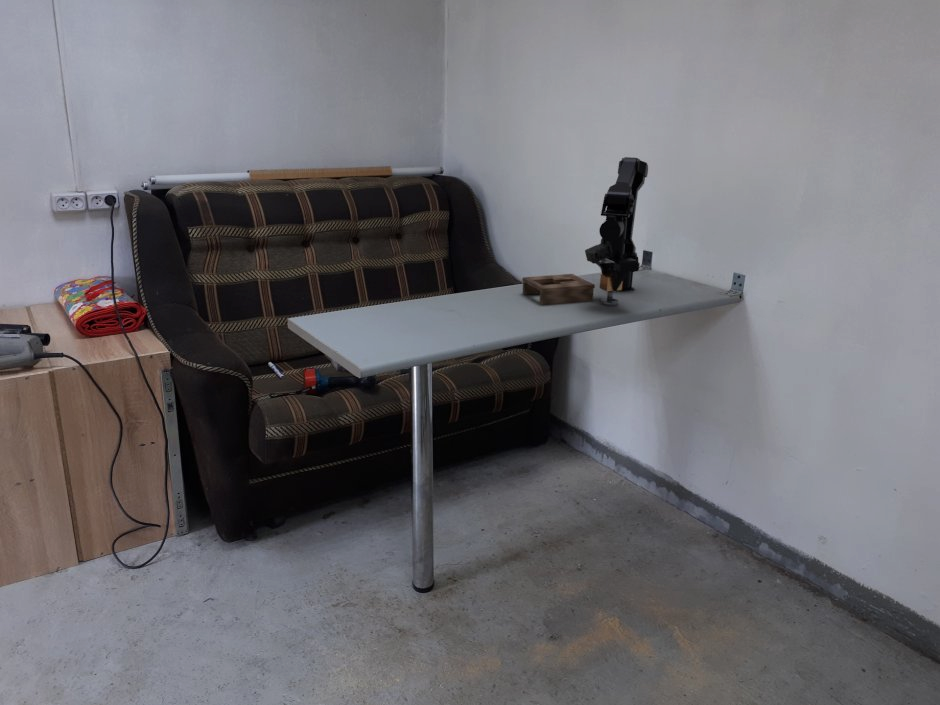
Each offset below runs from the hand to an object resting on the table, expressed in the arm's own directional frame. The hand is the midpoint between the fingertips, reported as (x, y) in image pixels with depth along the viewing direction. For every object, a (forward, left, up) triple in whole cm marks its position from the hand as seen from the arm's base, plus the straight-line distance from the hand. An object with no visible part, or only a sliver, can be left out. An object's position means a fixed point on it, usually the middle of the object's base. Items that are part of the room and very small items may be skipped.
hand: (610, 288), depth 208 cm
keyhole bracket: (+11, -11, -4) cm, 16 cm away
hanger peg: (0, 0, -4) cm, 4 cm away
